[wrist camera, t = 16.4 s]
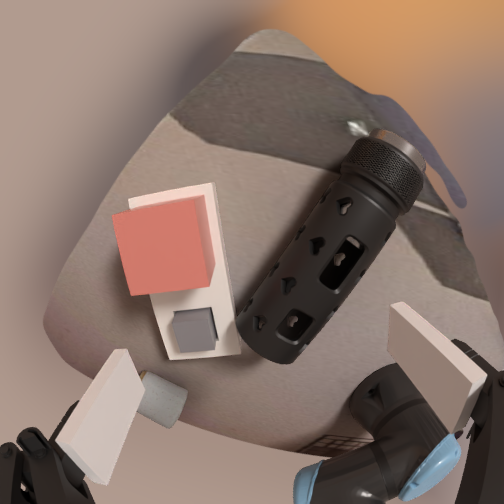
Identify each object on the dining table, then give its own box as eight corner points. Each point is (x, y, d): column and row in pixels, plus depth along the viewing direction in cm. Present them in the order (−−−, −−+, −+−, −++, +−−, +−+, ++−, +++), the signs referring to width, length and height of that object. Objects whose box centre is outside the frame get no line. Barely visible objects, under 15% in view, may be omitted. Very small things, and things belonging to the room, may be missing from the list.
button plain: (217, 333, 36) (214, 350, 32) (185, 336, 36) (180, 352, 32) (210, 304, 35) (207, 319, 31) (177, 307, 35) (171, 322, 31)
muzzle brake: (233, 301, 38) (231, 343, 28) (350, 130, 33) (388, 117, 23) (288, 332, 40) (302, 377, 30) (400, 174, 34) (446, 177, 24)
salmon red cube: (215, 263, 32) (209, 286, 25) (151, 272, 32) (131, 295, 25) (204, 194, 30) (194, 199, 23) (137, 206, 30) (111, 215, 23)
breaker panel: (240, 338, 39) (241, 353, 36) (173, 344, 39) (168, 360, 36) (214, 182, 34) (211, 182, 30) (138, 196, 34) (126, 199, 30)
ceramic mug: (146, 359, 40) (131, 390, 33) (191, 381, 42) (184, 415, 34) (129, 394, 42) (116, 424, 35) (169, 413, 44) (161, 444, 36)
